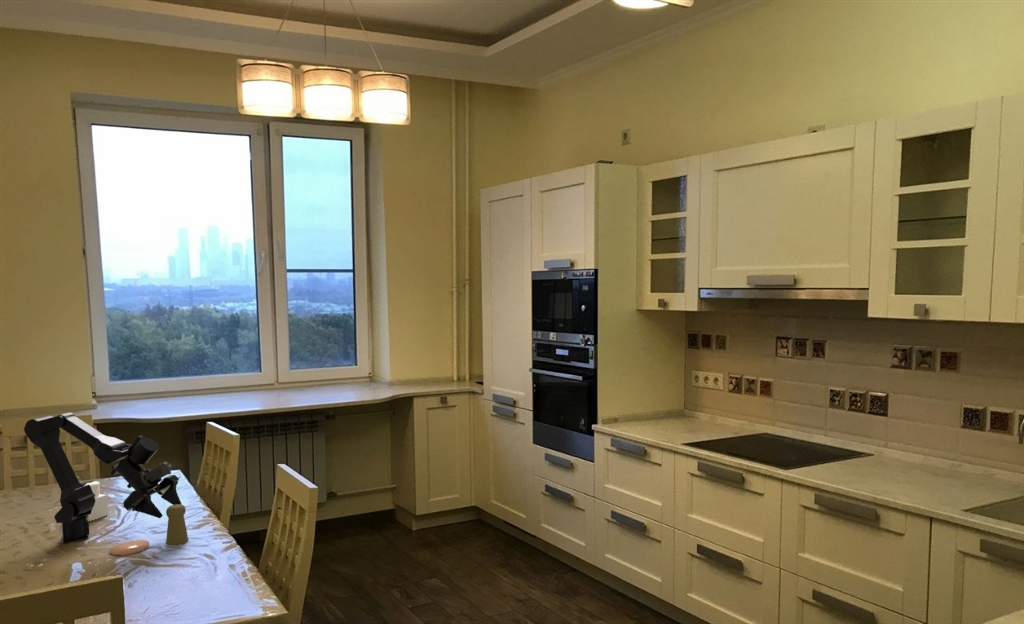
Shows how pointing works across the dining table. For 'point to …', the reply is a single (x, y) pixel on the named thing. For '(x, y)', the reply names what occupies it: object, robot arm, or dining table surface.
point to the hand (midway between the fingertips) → (171, 511)
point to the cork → (176, 525)
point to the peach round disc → (129, 547)
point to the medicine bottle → (97, 501)
